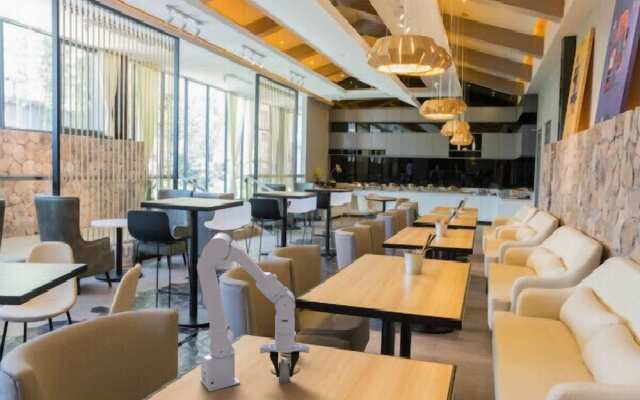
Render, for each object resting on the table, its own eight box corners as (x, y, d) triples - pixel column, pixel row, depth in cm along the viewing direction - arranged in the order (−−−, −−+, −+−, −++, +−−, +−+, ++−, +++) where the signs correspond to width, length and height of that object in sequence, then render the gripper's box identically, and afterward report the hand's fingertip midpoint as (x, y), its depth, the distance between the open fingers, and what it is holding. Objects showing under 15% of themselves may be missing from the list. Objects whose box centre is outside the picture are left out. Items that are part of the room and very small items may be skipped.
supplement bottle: (295, 356, 168) (295, 328, 167) (279, 356, 168) (279, 328, 167) (296, 350, 173) (296, 322, 172) (281, 349, 173) (281, 322, 172)
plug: (282, 384, 148) (282, 362, 147) (276, 379, 151) (276, 358, 150) (292, 381, 150) (292, 359, 149) (286, 377, 153) (286, 355, 152)
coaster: (278, 377, 152) (278, 376, 152) (265, 366, 160) (265, 365, 159) (304, 370, 157) (304, 369, 157) (289, 360, 164) (289, 359, 164)
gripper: (308, 326, 153) (308, 369, 154) (261, 326, 152) (260, 369, 154) (309, 335, 146) (309, 379, 147) (259, 335, 145) (259, 380, 147)
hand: (284, 375), depth 150 cm, fingers open, 3 cm apart
